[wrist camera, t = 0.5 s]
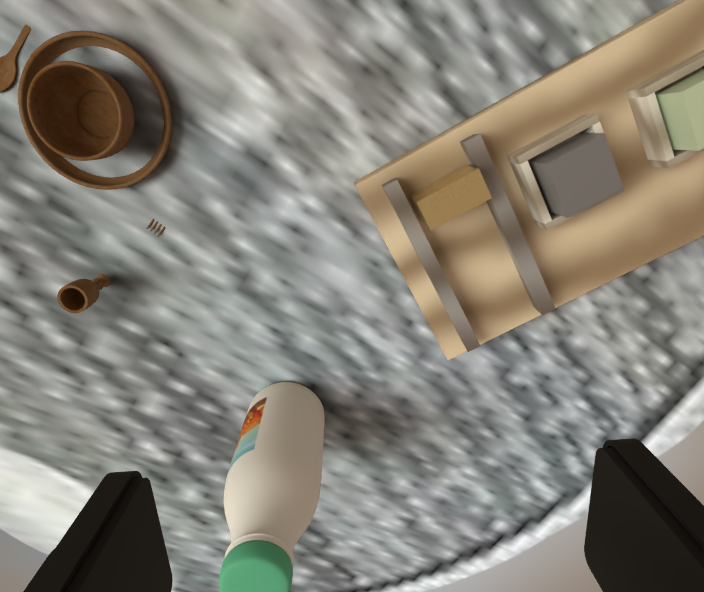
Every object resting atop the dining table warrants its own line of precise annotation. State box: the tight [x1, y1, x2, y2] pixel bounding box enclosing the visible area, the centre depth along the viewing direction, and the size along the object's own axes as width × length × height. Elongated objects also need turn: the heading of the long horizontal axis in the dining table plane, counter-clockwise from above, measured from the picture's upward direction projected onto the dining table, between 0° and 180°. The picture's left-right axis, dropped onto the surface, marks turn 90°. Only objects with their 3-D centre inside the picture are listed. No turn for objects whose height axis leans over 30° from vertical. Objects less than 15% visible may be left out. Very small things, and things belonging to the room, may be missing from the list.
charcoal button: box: [531, 133, 624, 218], centre depth 36 cm, size 4×4×3 cm
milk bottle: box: [219, 382, 325, 592], centre depth 40 cm, size 8×8×20 cm
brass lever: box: [409, 165, 492, 230], centre depth 37 cm, size 2×5×4 cm, turn 118°
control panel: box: [354, 0, 704, 360], centre depth 40 cm, size 18×30×5 cm, turn 119°
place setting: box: [0, 25, 172, 313], centre depth 38 cm, size 18×20×6 cm
